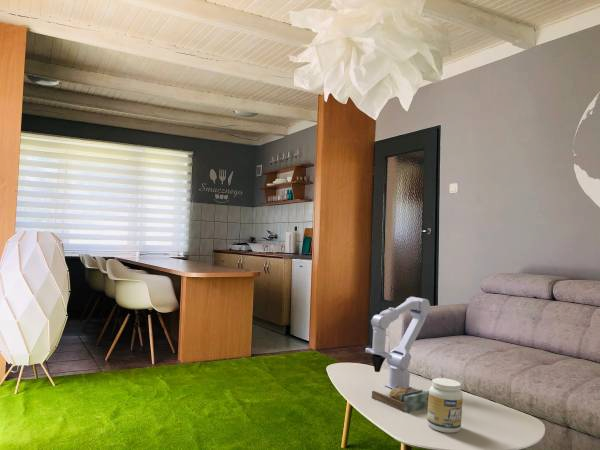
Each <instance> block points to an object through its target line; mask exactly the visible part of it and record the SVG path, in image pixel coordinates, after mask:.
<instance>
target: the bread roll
mask: <svg viewBox="0 0 600 450" xmlns="http://www.w3.org/2000/svg"><path fill="white" fill-rule="evenodd" d="M410 391H411V390H410ZM410 391H409V389H408V388H407V389H406V388H404V387H399V388H394V389H392V388H391V390H390V391H389V394H388V395H389V396H388V397H391V398H393V399H396V400H398V401H400V394H403V393H408V392H410Z"/></svg>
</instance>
